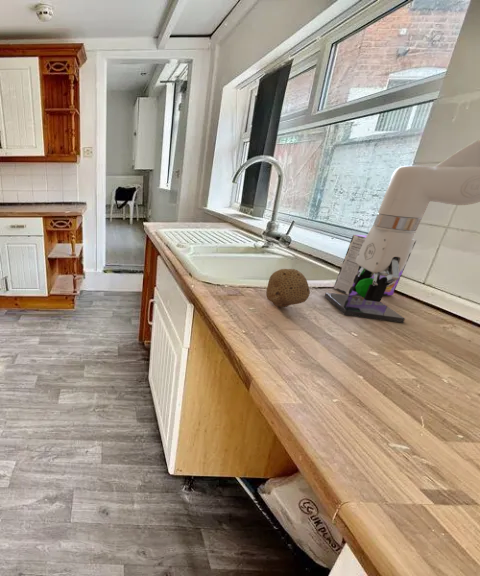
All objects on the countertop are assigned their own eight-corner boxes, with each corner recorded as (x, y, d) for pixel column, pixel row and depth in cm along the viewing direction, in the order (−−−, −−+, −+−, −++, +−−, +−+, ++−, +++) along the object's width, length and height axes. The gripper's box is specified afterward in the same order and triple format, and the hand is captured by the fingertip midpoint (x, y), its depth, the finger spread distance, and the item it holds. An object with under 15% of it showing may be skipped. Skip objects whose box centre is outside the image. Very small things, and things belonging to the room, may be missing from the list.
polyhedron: (356, 298, 76) (363, 280, 74) (349, 291, 80) (356, 274, 78) (381, 302, 74) (389, 284, 72) (373, 295, 78) (380, 278, 76)
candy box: (374, 288, 93) (396, 235, 87) (393, 296, 87) (418, 239, 81) (332, 287, 92) (352, 233, 85) (348, 295, 86) (371, 238, 80)
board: (374, 302, 82) (376, 298, 82) (403, 323, 71) (405, 318, 71) (324, 296, 85) (325, 292, 84) (344, 314, 74) (346, 310, 74)
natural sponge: (307, 309, 76) (320, 271, 72) (296, 319, 71) (309, 278, 67) (269, 297, 82) (279, 261, 79) (256, 305, 77) (266, 267, 73)
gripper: (357, 216, 79) (333, 282, 85) (399, 228, 63) (366, 307, 70) (392, 219, 77) (364, 286, 84) (443, 232, 62) (405, 312, 68)
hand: (365, 295), depth 77 cm, fingers closed on polyhedron, 5 cm apart
